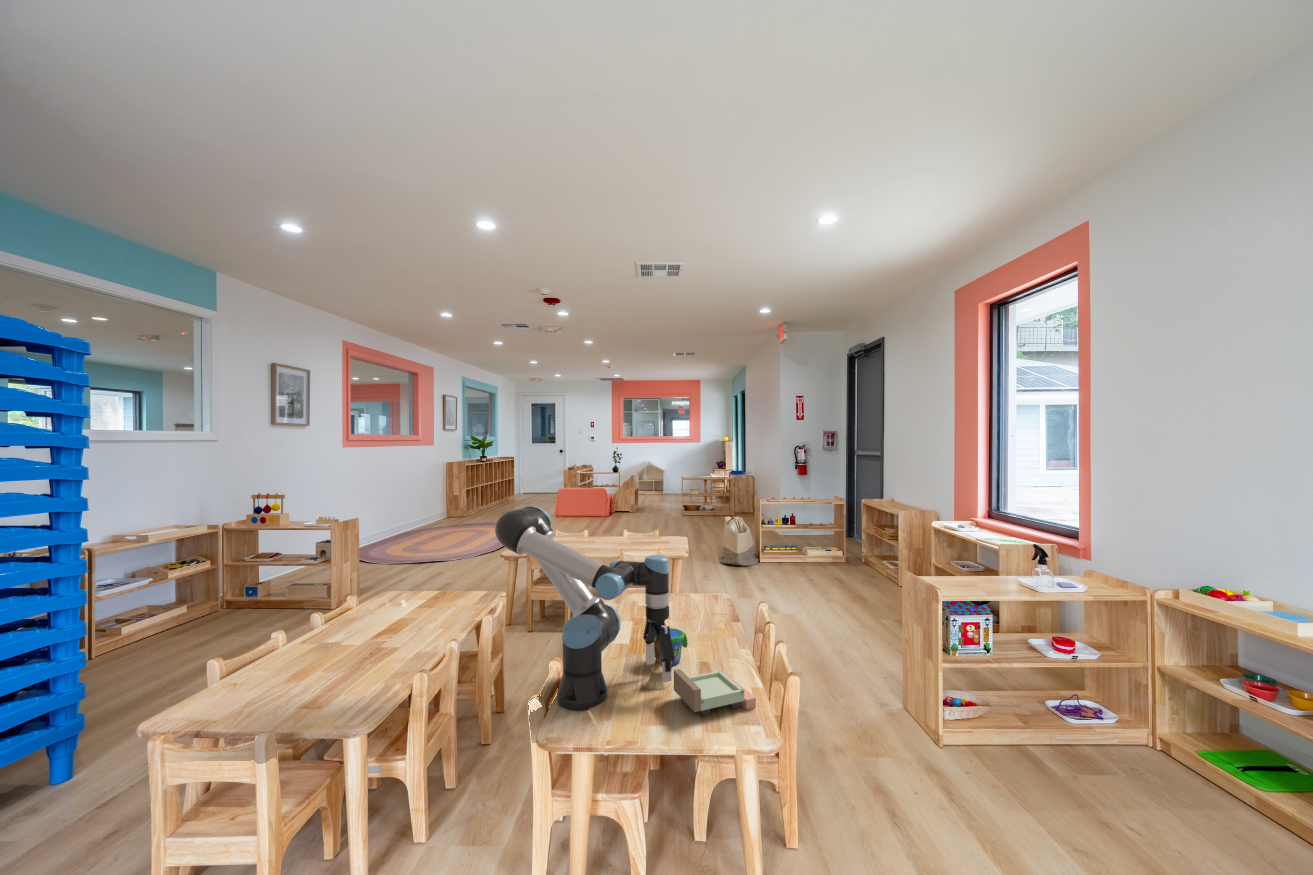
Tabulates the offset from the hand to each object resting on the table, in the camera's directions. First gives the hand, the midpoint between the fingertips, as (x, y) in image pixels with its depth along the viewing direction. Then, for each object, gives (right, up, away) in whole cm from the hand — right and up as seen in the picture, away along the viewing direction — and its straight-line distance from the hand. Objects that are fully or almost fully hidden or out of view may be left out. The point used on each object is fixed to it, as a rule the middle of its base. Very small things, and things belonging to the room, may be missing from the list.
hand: (658, 672), depth 164 cm
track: (+11, -4, -14) cm, 18 cm away
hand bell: (0, -5, 0) cm, 5 cm away
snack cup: (+4, -5, +18) cm, 19 cm away
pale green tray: (+16, -4, -12) cm, 20 cm away
